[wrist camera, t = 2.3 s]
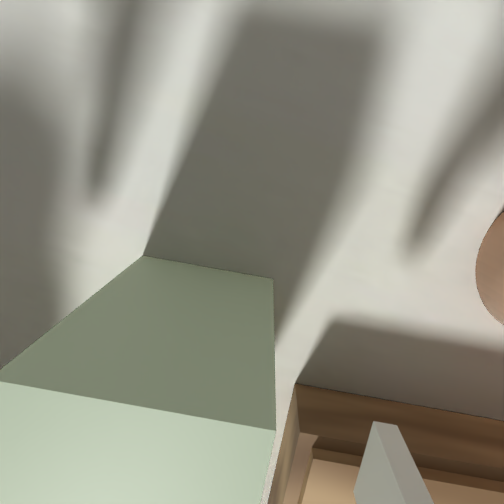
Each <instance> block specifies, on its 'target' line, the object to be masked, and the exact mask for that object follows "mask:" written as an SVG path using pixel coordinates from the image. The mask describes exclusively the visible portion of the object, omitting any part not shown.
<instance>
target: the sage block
mask: <svg viewBox="0 0 504 504" xmlns="http://www.w3.org/2000/svg"><path fill="white" fill-rule="evenodd" d="M275 434H276V398H275V349H274V300H273V279H271V278H265V277H259V276H254V275H248V274H243V273H237V272H231V271H226V270H220V269H215V268H209V267H204V266H198V265H192V264H187V263H181V262H176V261H170V260H164V259H159V258H153V257H148V256H141V257H140V258H139V259H138V260H136V261H135V262H134V263H133V264H131V265H130V266H129V267H128V268H126V269H125V270H124V271H123V272H121V273H120V274H119V275H118V276H116V277H115V278H114V279H113V280H111V281H110V282H109V283H108V284H106V285H105V286H104V287H103V288H101V289H100V290H99V291H98V292H96V293H95V294H94V295H93V296H91V297H90V298H89V299H88V300H86V301H85V302H84V303H83V304H81V305H80V306H79V307H78V308H76V309H75V310H74V311H73V312H71V313H70V314H69V315H68V316H66V317H65V318H64V319H63V320H61V321H60V322H59V323H58V324H57V325H55V326H54V327H53V328H52V329H50V330H49V331H48V332H47V333H45V334H44V335H43V336H42V337H40V338H39V339H38V340H37V341H35V342H34V343H33V344H32V345H30V346H29V347H28V348H27V349H25V350H24V351H23V352H22V353H20V354H19V355H18V356H17V357H15V358H14V359H13V360H12V361H10V362H9V363H8V364H7V365H5V366H4V367H3V368H2V369H0V504H260V502H261V497H262V493H263V488H264V484H265V479H266V475H267V470H268V466H269V461H270V457H271V452H272V448H273V443H274V439H275Z"/></svg>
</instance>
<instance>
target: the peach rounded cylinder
mask: <svg viewBox="0 0 504 504" xmlns="http://www.w3.org/2000/svg"><path fill="white" fill-rule="evenodd" d="M476 284H477V289H478V292H479V295H480V298H481V300H482V302H483V304H484V306H485V307H486V308H487V310H488V311H489V313H490V314H491V315H492V316H493V317H494V318H495V319H496V320H497V321H499V322H500V323H501V324H503V325H504V211H503V212H502V213H501V214H500V215H499V216H498V218H497V219H496V220H495V221H494V223H493V224H492V225H491V227H490V228H489V230H488V231H487V233H486V235H485V237H484V239H483V241H482V243H481V246H480V248H479V252H478V256H477V261H476Z"/></svg>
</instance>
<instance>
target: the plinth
mask: <svg viewBox="0 0 504 504" xmlns="http://www.w3.org/2000/svg"><path fill="white" fill-rule="evenodd" d="M373 421H376V422H382V423H387V424H393V425H397V426H398V428H399V431H400V433H401V435H402V437H403V439H404V441H405V443H406V445H407V447H408V450H409V452H410V454H411V456H412V458H413V460H414V462H415V464H416V466H417V469H418V471H419V473H420V475H421V477H422V479H423V481H424V483H425V485H426V488H427V490H428V492H429V494H430V496H431V498H432V500H433V502H434V504H504V421H500V420H494V419H489V418H483V417H478V416H472V415H467V414H461V413H455V412H450V411H444V410H439V409H433V408H428V407H422V406H417V405H411V404H406V403H400V402H394V401H389V400H383V399H378V398H372V397H367V396H361V395H356V394H350V393H344V392H339V391H333V390H328V389H322V388H317V387H311V386H306V385H300V384H295V385H294V389H293V394H292V398H291V403H290V407H289V411H288V416H287V420H286V425H285V429H284V433H283V438H282V442H281V447H280V451H279V455H278V460H277V464H276V469H275V473H274V477H273V482H272V486H271V491H270V495H269V499H268V504H356V500H355V496H354V492H353V491H354V487H355V484H356V480H357V477H358V473H359V470H360V466H361V463H362V459H363V456H364V452H365V448H366V445H367V441H368V438H369V434H370V431H371V427H372V424H373Z"/></svg>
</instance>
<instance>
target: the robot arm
mask: <svg viewBox="0 0 504 504" xmlns="http://www.w3.org/2000/svg"><path fill="white" fill-rule="evenodd" d="M353 492H354V496H355V500H356V504H434V502H433V500H432V498H431V496H430V494H429V492H428V490H427V488H426V485H425V483H424V481H423V479H422V477H421V475H420V473H419V471H418V469H417V466H416V464H415V462H414V460H413V458H412V456H411V454H410V452H409V450H408V447H407V445H406V443H405V441H404V439H403V437H402V435H401V433H400V431H399V428H398V426H397V425H393V424H387V423H382V422H376V421H373V424H372V427H371V431H370V434H369V438H368V441H367V445H366V448H365V452H364V456H363V459H362V463H361V466H360V470H359V473H358V477H357V480H356V484H355V487H354V491H353Z"/></svg>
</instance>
